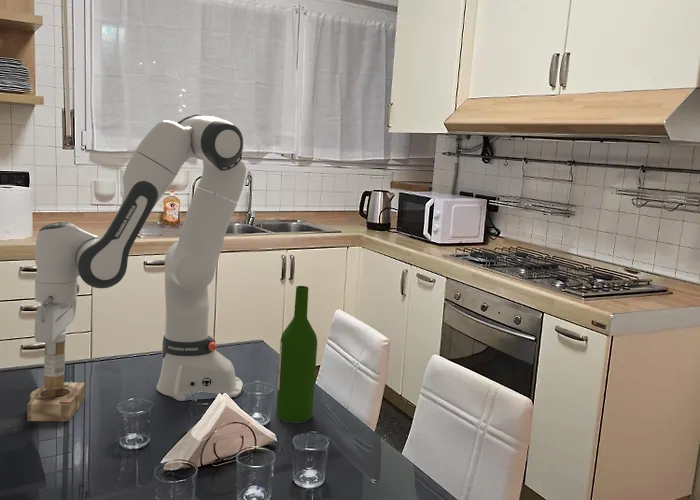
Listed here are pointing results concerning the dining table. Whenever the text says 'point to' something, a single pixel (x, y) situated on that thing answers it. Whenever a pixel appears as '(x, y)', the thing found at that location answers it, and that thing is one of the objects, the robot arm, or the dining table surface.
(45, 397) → the socket block
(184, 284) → the robot arm
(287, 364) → the wine bottle
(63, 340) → the sprinkles bottle
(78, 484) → the dining table surface
